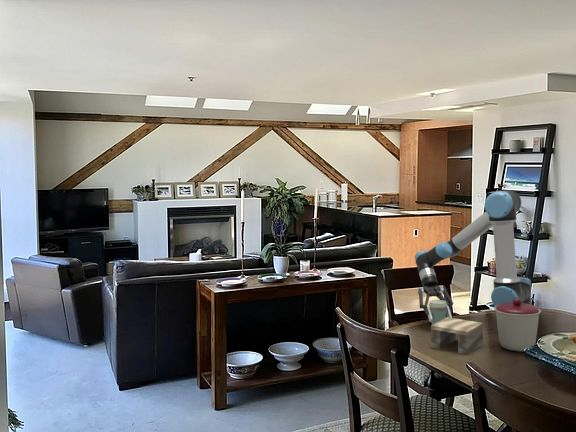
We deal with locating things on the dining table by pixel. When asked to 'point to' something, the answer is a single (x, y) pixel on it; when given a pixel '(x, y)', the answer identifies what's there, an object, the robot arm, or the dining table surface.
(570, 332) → the dining table surface
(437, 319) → the coffee cup
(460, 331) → the shelf
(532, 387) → the dining table surface
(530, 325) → the canister
